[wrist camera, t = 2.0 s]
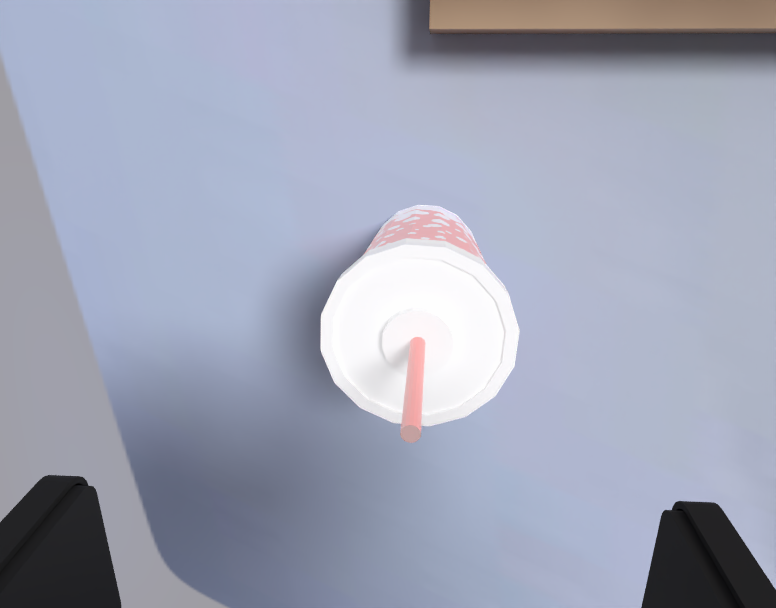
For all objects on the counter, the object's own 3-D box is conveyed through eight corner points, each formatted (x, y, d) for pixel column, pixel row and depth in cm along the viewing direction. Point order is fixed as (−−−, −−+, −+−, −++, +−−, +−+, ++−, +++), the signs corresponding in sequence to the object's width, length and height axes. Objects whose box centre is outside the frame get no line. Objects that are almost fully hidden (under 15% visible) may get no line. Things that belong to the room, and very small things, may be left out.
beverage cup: (374, 170, 25) (306, 277, 12) (513, 207, 26) (589, 351, 13) (343, 299, 28) (258, 504, 15) (470, 333, 28) (498, 566, 15)
